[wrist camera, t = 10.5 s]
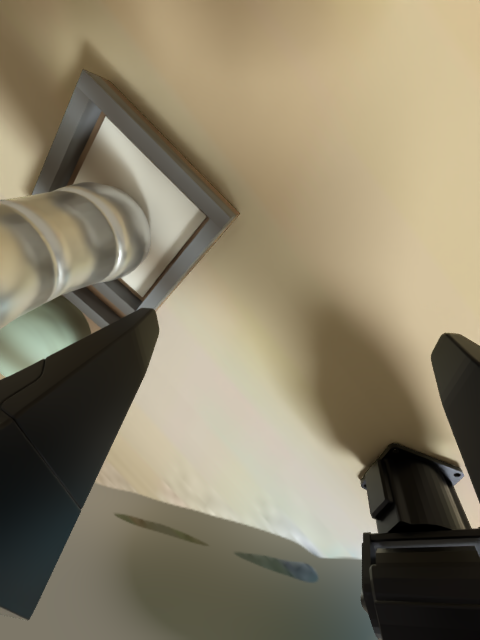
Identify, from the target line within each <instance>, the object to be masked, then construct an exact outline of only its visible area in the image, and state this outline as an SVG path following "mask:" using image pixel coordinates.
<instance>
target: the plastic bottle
mask: <svg viewBox="0 0 480 640" xmlns="http://www.w3.org/2000/svg"><path fill="white" fill-rule="evenodd" d="M150 245H151V233H150V227H149V224H148V221H147V218H146V216H145V214H144V212H143V210H142V209H141V208H140V206H139V205H138V204H137V202H136V201H135V200H134V199H133V198H132V197H131V196H130V195H128V194H127V193H125V192H124V191H122V190H120V189H118V188H115V187H113V186H108V185H103V184H99V183H94V182H82V183H78V184H73V185H69V186H66V187H62V188H59V189H57V190H54V191H52V192H47V193H42V194H36V195H30V196H25V197H19V198H13V199H7V200H0V329H1V328H3V327H4V326H6V325H8V324H9V323H11V322H12V321H14V320H15V319H17V318H19V317H20V316H22V315H24V314H26V313H28V312H30V311H32V310H34V309H36V308H38V307H39V306H41V305H42V304H44V303H46V302H49V301H51V300H53V299H54V298H56V297H58V296H60V295H63V294H66V293H69V292H72V291H75V290H77V289H80V288H83V287H86V286H89V285H92V284H95V283H102V282H108V281H112V280H115V279H118V278H122V277H124V276H126V275H128V274H130V273H131V272H132V271H134V270H135V269H136V268H137V267H138V266H139V265H140V264H141V263H142V262H143V261H144V260H145V259H146V257H147V255H148V253H149V249H150Z"/></svg>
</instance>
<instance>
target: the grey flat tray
mask: <svg viewBox="0 0 480 640" xmlns="http://www.w3.org/2000/svg"><path fill="white" fill-rule="evenodd" d="M82 182H94V183H99V184H103V185H108V186H113V187H115V188H118V189H120V190H122V191H124V192H125V193H127V194H128V195H130V196H131V197H132V198H133V199H134V200H135V201H136V202H137V204H138V205H139V206H140V208H141V209H142V210H143V212H144V214H145V216H146V218H147V221H148V224H149V227H150V233H151V245H150V249H149V253H148V255H147V257H146V259H145V260H144V261H143V262H142V263H141V264H140V265H139V266H138V267H137V268H136V269H135V270H134V271H132V272H131V273H130V274H128V275H126V276H124V277H122V278H118V279H115V280H112V281H108V282H102V283H95V284H92V285H89V286H86V287H83V288H80V289H77V290H75V291H72V292H69V293H66V294H63V295H60V296H58V297H56V298H54V299H53V300H51V301H49V302H46V303H44V304H42V305H41V306H39V307H38V308H36V309H34V310H32V311H30V312H28V313H26V314H24V315H22V316H20V317H19V318H17V319H15V320H14V321H12V322H11V323H9V324H8V325H6V326H4V327H3V328H1V329H0V373H1V374H2V375H4V376H5V377H8V376H10V375H12V374H14V373H16V372H18V371H20V370H22V369H24V368H26V367H28V366H30V365H32V364H34V363H36V362H38V361H40V360H42V359H46V357H48V356H50V355H52V354H53V353H55V352H57V351H59V350H61V349H63V348H65V347H67V346H69V345H71V344H73V343H75V342H77V341H79V340H80V339H82V338H84V337H86V336H88V335H90V334H92V333H94V332H96V331H98V330H100V329H102V328H104V327H105V326H107V325H109V324H111V323H113V322H115V321H117V320H119V319H121V318H123V317H125V316H127V315H129V314H130V313H132V312H134V311H136V310H138V309H140V308H153V309H154V310H155V311H157V310H158V308H159V307H160V306H161V305H162V304H163V303H164V302H165V300H166V299H167V298H168V297H169V296H170V295H171V293H172V292H173V291H174V290H175V289H176V288H177V286H178V285H179V284H180V283H181V282H182V281H183V279H184V278H185V277H186V276H187V275H188V274H189V272H190V271H191V270H192V269H193V268H194V267H195V265H196V264H197V263H198V262H199V261H200V260H201V258H202V257H203V256H204V255H205V254H206V253H207V251H208V250H209V249H210V248H211V247H212V246H213V244H214V243H215V242H216V241H217V240H218V239H219V237H220V236H221V235H222V234H223V233H224V232H225V230H226V229H227V228H228V227H229V226H230V225H231V224H232V222H233V221H234V220H235V219H236V218H237V217H238V215H239V214H240V213H239V212H238V211H237V210H236V209H235V208H234V207H233V206H232V205H231V204H230V203H229V202H228V201H227V200H226V199H225V198H224V197H223V196H222V195H221V194H220V193H219V192H218V191H217V190H216V189H215V188H214V187H213V186H212V185H211V184H210V183H209V182H208V181H207V180H206V179H205V178H204V177H203V176H202V175H201V174H200V173H199V172H198V171H197V170H196V169H195V168H194V167H193V166H192V165H191V163H190V162H189V161H188V160H187V159H186V158H185V157H184V156H183V155H182V154H181V153H180V152H179V151H178V150H177V149H176V148H175V147H174V146H173V145H172V144H171V143H170V142H169V141H168V140H167V139H166V138H165V137H164V136H163V135H162V134H161V133H160V132H159V131H158V130H157V129H156V128H155V127H154V126H153V125H152V124H151V123H150V122H149V121H148V120H147V119H146V118H145V117H144V116H143V115H142V114H141V113H140V112H139V110H138V109H137V108H136V107H135V106H134V105H133V104H132V103H131V102H130V101H129V100H128V99H127V98H126V97H125V96H124V95H123V94H122V93H121V92H120V91H119V90H118V89H117V88H116V87H115V86H114V85H113V84H112V83H111V82H110V81H109V80H106V79H104V78H102V77H100V76H97V75H95V74H93V73H91V72H88V71H86V70H84V69H83V70H82V73H81V75H80V78H79V80H78V82H77V85H76V87H75V90H74V92H73V95H72V97H71V100H70V102H69V105H68V107H67V109H66V112H65V114H64V117H63V119H62V122H61V124H60V127H59V129H58V132H57V134H56V136H55V139H54V141H53V144H52V146H51V149H50V151H49V154H48V156H47V158H46V161H45V163H44V166H43V168H42V171H41V173H40V176H39V178H38V181H37V183H36V185H35V188H34V190H33V193H32V195H36V194H42V193H47V192H52V191H54V190H57V189H59V188H62V187H66V186H69V185H73V184H78V183H82Z"/></svg>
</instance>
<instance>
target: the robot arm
mask: <svg viewBox="0 0 480 640" xmlns="http://www.w3.org/2000/svg"><path fill="white" fill-rule="evenodd" d="M158 335H159V325H158V320H157V315H156V311H155V310H154V309H153V308H140V309H138V310H136V311H134V312H132V313H130V314H129V315H127V316H125V317H123V318H121V319H119V320H117V321H115V322H113V323H111V324H109V325H107V326H105V327H104V328H102V329H100V330H98V331H96V332H94V333H92V334H90V335H88V336H86V337H84V338H82V339H80V340H79V341H77V342H75V343H73V344H71V345H69V346H67V347H65V348H63V349H61V350H59V351H57V352H55V353H53V354H52V355H50V356H48V357H46V359H42V360H40V361H38V362H36V363H34V364H32V365H30V366H28V367H26V368H24V369H22V370H20V371H18V372H16V373H14V374H12V375H10V376H8V377H6V378H4V379H2V380H0V615H4V616H9V617H13V618H18V619H22V620H29V619H30V617H31V615H32V614H33V612H34V610H35V608H36V606H37V604H38V601H39V599H40V597H41V595H42V593H43V591H44V589H45V586H46V585H47V582H48V580H49V578H50V576H51V574H52V572H53V570H54V568H55V565H56V563H57V561H58V559H59V557H60V555H61V553H62V551H63V548H64V546H65V544H66V542H67V540H68V538H69V536H70V533H71V531H72V529H73V527H74V525H75V523H76V521H77V519H78V517H79V514H80V512H81V509H82V507H83V506H84V503H85V501H86V499H87V497H88V495H89V493H90V491H91V489H92V486H93V484H94V482H95V480H96V478H97V476H98V474H99V472H100V469H101V467H102V465H103V463H104V461H105V459H106V457H107V455H108V452H109V450H110V448H111V446H112V444H113V442H114V440H115V438H116V435H117V433H118V431H119V429H120V427H121V425H122V423H123V421H124V418H125V416H126V414H127V412H128V410H129V408H130V406H131V404H132V401H133V399H134V397H135V395H136V393H137V391H138V389H139V387H140V384H141V382H142V380H143V378H144V376H145V373H146V371H147V368H148V365H149V362H150V359H151V356H152V353H153V350H154V347H155V344H156V341H157V338H158ZM431 362H432V366H433V370H434V374H435V378H436V382H437V386H438V390H439V394H440V398H441V402H442V405H443V408H444V411H445V413H446V416H447V419H448V421H449V424H450V426H451V429H452V432H453V434H454V437H455V440H456V442H457V445H458V447H459V450H460V453H461V455H462V458H463V461H464V463H465V466H466V468H467V471H468V474H469V476H470V479H471V482H472V484H473V487H474V489H475V492H476V495H477V497H478V500H479V503H480V346H479V345H477V344H476V343H474V342H472V341H471V340H469V339H467V338H466V337H464V336H462V335H460V334H455V333H444V334H442V335H441V336H440V338H439V340H438V342H437V344H436V346H435V348H434V350H433V352H432V354H431ZM394 449H396V450H394ZM463 476H464V474H463V472H462V470H461V469H460V468H458V467H455V466H453V465H450V464H448V463H445V462H443V461H440V460H437V459H435V458H432V457H430V456H427V455H424V454H422V453H419V452H417V451H414V450H412V449H409V448H406V447H404V446H401V445H399V444H390V445H389V446H388V448H387V449H386V450H385V451H384V453H383V454H382V455H381V456H380V458H379V459H377V460H376V461H375V462H374V464H373V465H372V466H371V467H370V469H369V470H368V471H367V472H366V474H365V476H364V477H363V479H362V480H361V487H362V488H364V489H366V490H367V494H368V501H369V508H370V514H371V516H372V518H374V519H376V523H377V529H378V533H374V534H371V533H370V532H368V533H363V543H362V592H361V604H362V607H363V608H364V610H365V611H366V612H367V613H368V614H369V617H370V620H371V624H372V627H373V630H374V632H375V635H376V636H377V638H378V639H379V640H480V527H478V529H472V528H471V526H470V524H469V521H468V519H467V517H466V514H465V512H464V510H463V507H462V505H461V503H460V500H459V498H458V496H457V493H456V491H455V489H454V485H455V484H456V483H457V482H458V481H460V480H461V479H462V478H463Z"/></svg>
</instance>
